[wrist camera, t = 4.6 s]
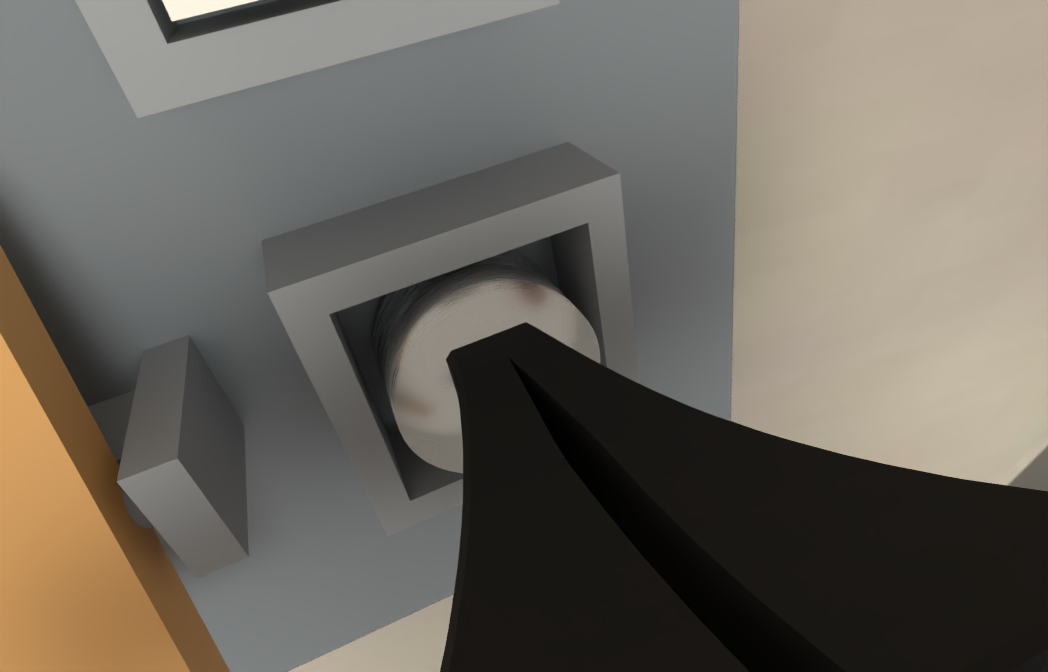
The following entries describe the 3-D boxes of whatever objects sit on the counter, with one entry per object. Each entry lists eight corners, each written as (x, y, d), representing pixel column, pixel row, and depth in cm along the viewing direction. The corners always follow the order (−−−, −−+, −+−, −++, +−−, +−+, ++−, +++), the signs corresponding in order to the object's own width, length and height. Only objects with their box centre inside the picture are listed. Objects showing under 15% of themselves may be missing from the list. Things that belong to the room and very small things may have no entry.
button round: (567, 370, 13) (610, 425, 11) (404, 435, 12) (429, 502, 11) (539, 216, 11) (587, 259, 9) (343, 284, 10) (363, 341, 9)
